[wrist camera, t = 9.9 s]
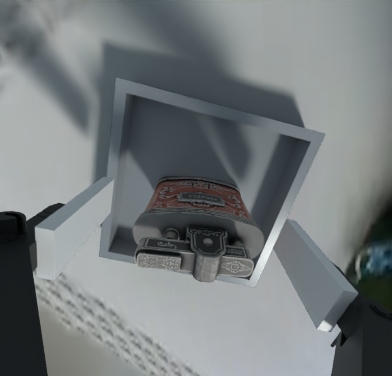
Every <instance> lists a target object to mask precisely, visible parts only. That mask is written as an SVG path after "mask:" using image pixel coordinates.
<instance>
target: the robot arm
mask: <svg viewBox="0 0 392 376" xmlns="http://www.w3.org/2000/svg"><path fill="white" fill-rule="evenodd" d="M113 186H114V179H111V178H107V177H102V178H101V179H100V180H98V181H97V182H95V183H94V184H93V185H91V186H90V187H89V188H87V189H86V190H85V191H83V192H82V193H80V194H79V195H78V196H76V197H75V198H74V199H72V200H71V201H70V202H68V203H67V204H62V203H57V204H54V205H51V206H49V207H47V208H46V209H44V210H43V211H42V212H40V213H38V214H37V215H36V216H34V217H32V218H30V219H29V220H27V221H26V216H25V215H24V214H22V213H20V212H14V211H5V212H0V376H48V374H47V368H46V361H45V354H44V347H43V341H42V334H41V326H40V320H39V313H38V306H37V299H36V292H35V285H34V278H33V271H34V270H35V269H36V268H37V277H38V278H43V279H48V280H55V279H56V278H57V276H58V275H59V274H60V273H61V272H62V270H63V269H64V268H65V267H66V266H67V264H68V263H69V262H70V261H71V260H72V258H73V257H74V256H75V255H76V254H77V252H78V251H79V250H80V249H81V248H82V246H83V245H84V244H85V243H86V241H87V240H88V239H89V238H90V237H91V235H92V234H93V233H94V232H95V231H96V229H97V228H98V227H99V226H100V225H101V223H102V222H103V221H104V220H105V219H106V217H107V216H108V215H109V214H110V213H111V204H112V195H113ZM273 249H274V251H275V252H276V254H277V256H278V258H279V260H280V262H281V263H282V265H283V267H284V269H285V271H286V273H287V275H288V276H289V278H290V280H291V282H292V284H293V286H294V288H295V289H296V291H297V293H298V295H299V297H300V299H301V301H302V302H303V304H304V306H305V308H306V310H307V312H308V314H309V315H310V317H311V319H312V321H313V323H314V325H315V327H316V328H317V330H323V331H328V332H331V331H332V330H333V328H334V327H335V325H336V324H337V325H338V326H339V328H340V329H341V332H340V333H339V335H338V336H337V337H336V339H335V340H334V341H333V343H332V344H331V347H334V345H336V349H335V355H334V362H333V368H332V374H331V376H392V313H391V312H390V311H389V310H388V309H387V308H385V307H384V306H382V305H381V304H379V303H377V302H375V301H373V300H370V299H366V298H365V297H364V296H363V295H362V293H361V292H360V291H359V290H358V289H357V288H356V287H355V286H354V284H353V283H352V282H351V281H349V279H348V278H347V276H346V275H344V273H343V272H342V271H341V270H340V269H339V267H337V266H336V265H335V264H334V263H332V262H331V261H330V260H329V259H328V257H327V256H326V255H325V254H324V253H323V252H322V251H321V249H320V248H319V247H318V246H317V245H316V244H315V242H314V241H313V240H312V239H311V238H310V237H309V236H308V234H307V233H306V232H305V231H304V230H303V229H302V228H301V226H300V225H299V224H298V223H297V222H296V221H294V220H290V219H286V221H285V223H284V225H283V227H282V229H281V231H280V234H279V236H278V238H277V240H276V242H275V244H274V246H273Z"/></svg>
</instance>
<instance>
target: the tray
mask: <svg viewBox="0 0 392 376" xmlns="http://www.w3.org/2000/svg"><path fill="white" fill-rule="evenodd" d="M324 136H325V133H321V132H317V131H313V130H310V129H306V128H302V127H299V126H295V125H291V124H287V123H284V122H280V121H276V120H273V119H269V118H265V117H262V116H258V115H254V114H250V113H247V112H243V111H239V110H236V109H232V108H228V107H224V106H221V105H217V104H213V103H210V102H206V101H202V100H198V99H195V98H191V97H187V96H184V95H180V94H176V93H173V92H169V91H165V90H161V89H158V88H154V87H150V86H147V85H143V84H139V83H135V82H132V81H128V80H124V79H121V78H117V77H116V83H115V93H114V104H113V114H112V125H111V135H110V146H109V156H108V167H107V178H111V179H114V186H113V195H112V204H111V213H110V214H109V215H108V216H107V217H106V219H105V220H104V221H103V222H102V230H101V240H100V251H99V257H103V258H108V259H113V260H118V261H123V262H128V263H133V264H136V263H135V260H134V255H135V251H136V248H137V246H138V245H137V244H136V242H135V240H134V238H133V232H132V231H133V226H134V224H135V222H136V220H137V218H138V217H139V215H140V214H141V213H142V212H144V211H145V209H146V207H147V205H148V203H149V201H150V200H151V198H152V196H153V194H154V189H155V186H156V184H157V182H158V181H159V179H161V178H162V177H165V176H174V175H194V176H204V177H209V178H215V179H219V180H222V181H225V182H229V183H232V184H234V185H236V186H237V187H238V188H239V190H240V192H241V194H242V200H243V202H244V204H245V206H246V208H247V210H248V212H249V214H250V216H251V218H252V220H253V221H254V222H256V224H257V225H258V226H259V227H260V229H261V231H262V233H263V236H264V246H263V248H262V251H261V252H260V253H259V254H258V255H257V256H256V257H255V258H253V259H252V260H253V263H254V268H253V271H252V273H251V274H250V275H249V276H247V277H236V276H226V275H220V276H219V277H217V278H216V279H215V280H219V281H224V282H229V283H234V284H239V285H244V286H249V287H255V285H256V283H257V281H258V279H259V277H260V274H261V272H262V270H263V268H264V266H265V264H266V262H267V259H268V257H269V255H270V253H271V251H272V249H273V246H274V244H275V242H276V240H277V238H278V236H279V233H280V231H281V229H282V227H283V225H284V223H285V221H286V218H287V216H288V214H289V212H290V210H291V208H292V205H293V203H294V201H295V199H296V197H297V195H298V193H299V190H300V188H301V186H302V184H303V182H304V180H305V177H306V175H307V173H308V171H309V169H310V167H311V164H312V162H313V160H314V158H315V156H316V154H317V152H318V149H319V147H320V145H321V143H322V141H323V139H324ZM169 271H172V270H169ZM174 272H179V273H184V274H189V275H192V274H190V273H189V272H187V271H174Z"/></svg>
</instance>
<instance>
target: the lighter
mask: <svg viewBox="0 0 392 376" xmlns="http://www.w3.org/2000/svg"><path fill="white" fill-rule="evenodd" d="M132 232H133V238H134V240H135V242H136V244H137V245H138V246H137V248H136V251H135V255H134V260H135V263H136V264H137V265H138V266H139V267H143V268H152V269H162V270H172V271H187V272H189V273H190V274H192V275H193V277H194V278H195V279H196V280H198V281H200V282H212V281H214V280H215V279H216V278H217V277H219V276H220V275H226V276H236V277H247V276H249V275H250V274H251V273H252V271H253V268H254V263H253V260H252V259H253V258H255V257H256V256H257V255H258V254H259V253H260V252H261V251H262V248H263V246H264V236H263V233H262V231H261V229H260V227H259V226H258V225H257V224H256V222H254V221H253V220H252V218H251V216H250V214H249V212H248V210H247V208H246V206H245V204H244V202H243V200H242V194H241V192H240V190H239V188H238V187H237V186H236V185H234V184H232V183H229V182H225V181H222V180H219V179H215V178H209V177H204V176H194V175H174V176H165V177H162V178H161V179H159V181H158V182H157V184H156V186H155V189H154V194H153V196H152V198H151V200H150V201H149V203H148V205H147V207H146V209H145V211H144V212H142V213H141V214H140V215H139V217H138V218H137V220H136V222H135V224H134V226H133V231H132Z"/></svg>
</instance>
